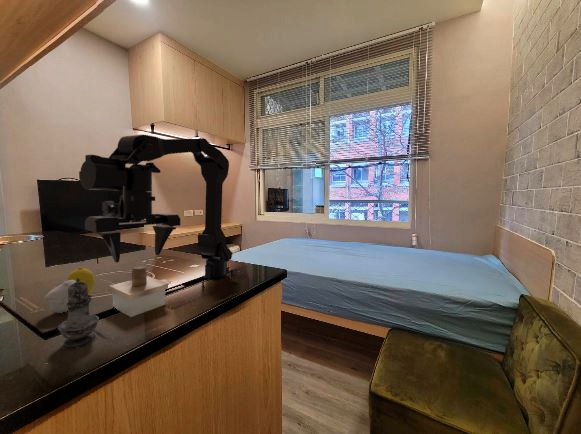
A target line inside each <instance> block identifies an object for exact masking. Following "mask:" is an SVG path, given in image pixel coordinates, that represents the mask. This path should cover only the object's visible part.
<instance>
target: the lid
mask: <svg viewBox="0 0 581 434" xmlns="http://www.w3.org/2000/svg"><path fill="white" fill-rule="evenodd" d="M147 273H148V272H147V266H140V265H139V266H135V267H132V268H131V280H127V281H122V282H118V283H116V284H115V283H114V284H111V285H110V284H109V285H108V291H109V292H111V293H112V294H113V293H115V294H117V295H119V296H121V297H123V298H125V299H127V300H133V299H136V298H139V297H142V296H145V295H149V294H152V293H155V292H158V291H162V290H165V289H168V283H165V282H163V281H160V280H161V279H156V278H154V277H151V276H149V275H148V274H147Z"/></svg>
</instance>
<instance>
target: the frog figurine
mask: <svg viewBox="0 0 581 434" xmlns="http://www.w3.org/2000/svg"><path fill="white" fill-rule="evenodd" d="M67 280H68V279H67ZM67 280H64V281H63V282H62V283H61V284H60V285H57V286H56V287H54V288H53V289H50V291H48V292H47V293H46V295H45V296H44V299H45V300H47V302H48V305H49V308H50V310H52V311H53V312H54V313H58V314H64V313H63V312H65V313H68V312H67V311H68V307H67V306H66V303H68V287H69V286H70V285H72V284H73V283H75V282H76V281H74V280H68V281H67ZM52 311H51V312H52Z"/></svg>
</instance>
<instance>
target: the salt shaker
mask: <svg viewBox="0 0 581 434" xmlns="http://www.w3.org/2000/svg"><path fill="white" fill-rule="evenodd" d="M79 280H80V279H79V278H77V279H76V280H75V281H76V282H75V283H73V284H72V285H70V286H69V287H68V303H66V306H67V307H68V312H67V318H66V320H63V321H62V322H61V323H60V324H58V326H57V330H58V331H59V332H60V334H61V336H62V337H63V338H64V339H65V340H63V341H62V342H61V343H60V348H61V349H63V350H76V349H81V348H84V347H86V346H90V345H91V344H92V343H94V342H96V341H97V339H98V337H99V336H98V334H97V333H95V332H94V331H95V329H96V328H97V326H98V322H99V320H100V318H99V316H97V315H94V314H91V313H90V303H91V302H92V301H91V299H90V298H89V293H88V286H87V284H86V283H84V282H79Z"/></svg>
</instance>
